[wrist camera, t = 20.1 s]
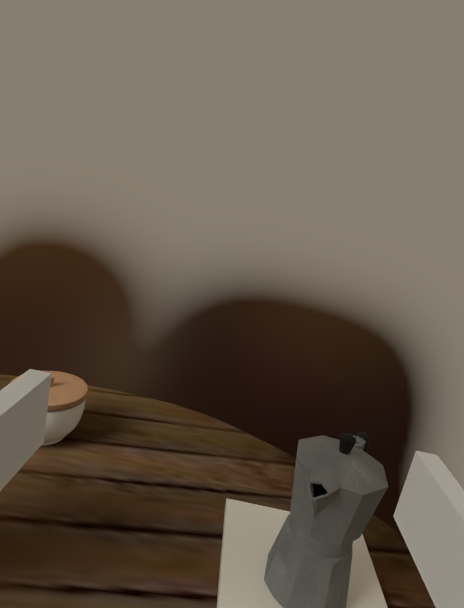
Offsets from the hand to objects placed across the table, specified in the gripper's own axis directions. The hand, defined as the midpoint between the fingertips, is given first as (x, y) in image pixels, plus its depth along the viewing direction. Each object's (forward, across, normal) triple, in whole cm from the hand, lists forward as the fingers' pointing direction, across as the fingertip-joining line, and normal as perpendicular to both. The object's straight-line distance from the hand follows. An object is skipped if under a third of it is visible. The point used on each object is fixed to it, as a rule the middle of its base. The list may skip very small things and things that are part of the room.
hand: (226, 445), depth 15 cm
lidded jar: (+42, -24, -30) cm, 57 cm away
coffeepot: (+25, +14, -29) cm, 41 cm away
